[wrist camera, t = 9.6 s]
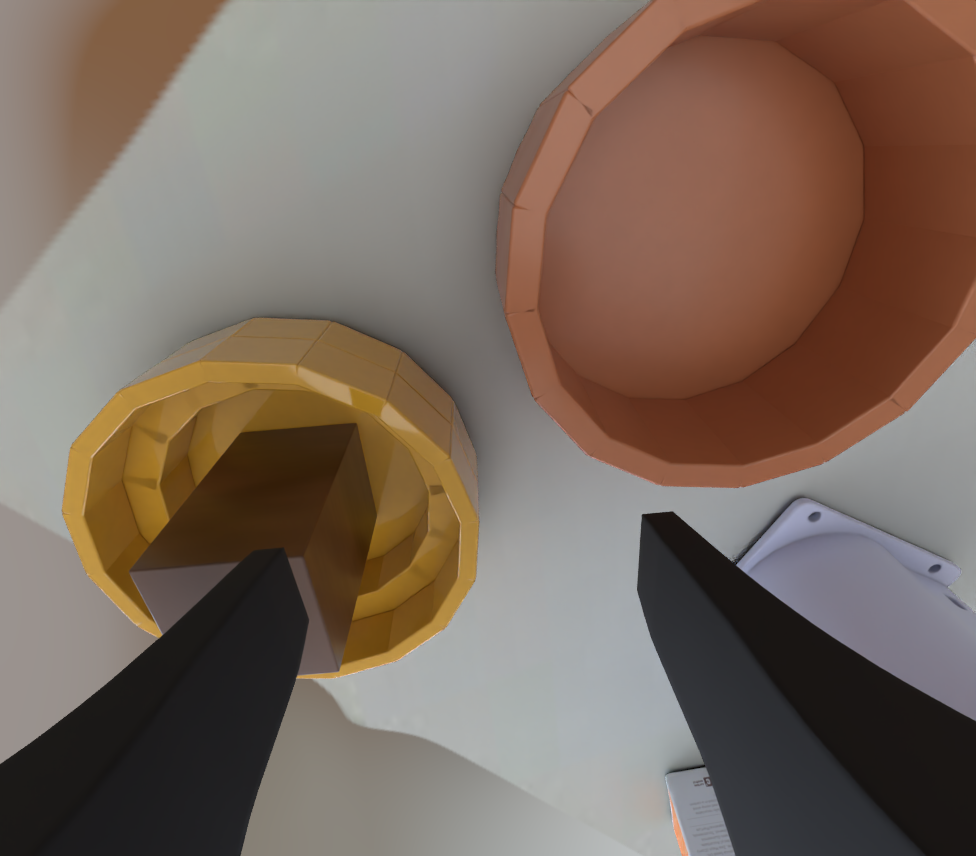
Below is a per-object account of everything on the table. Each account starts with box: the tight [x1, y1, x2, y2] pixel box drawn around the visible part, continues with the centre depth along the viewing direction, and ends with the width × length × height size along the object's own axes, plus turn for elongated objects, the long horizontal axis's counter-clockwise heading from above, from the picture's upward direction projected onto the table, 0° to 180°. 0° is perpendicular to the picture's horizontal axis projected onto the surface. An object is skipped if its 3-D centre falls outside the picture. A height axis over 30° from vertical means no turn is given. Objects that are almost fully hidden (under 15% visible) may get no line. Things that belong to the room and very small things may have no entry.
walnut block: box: [129, 423, 377, 676], centre depth 16 cm, size 4×4×7 cm
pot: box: [495, 0, 976, 488], centre depth 14 cm, size 12×12×5 cm
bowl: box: [62, 317, 479, 678], centre depth 18 cm, size 12×12×4 cm
